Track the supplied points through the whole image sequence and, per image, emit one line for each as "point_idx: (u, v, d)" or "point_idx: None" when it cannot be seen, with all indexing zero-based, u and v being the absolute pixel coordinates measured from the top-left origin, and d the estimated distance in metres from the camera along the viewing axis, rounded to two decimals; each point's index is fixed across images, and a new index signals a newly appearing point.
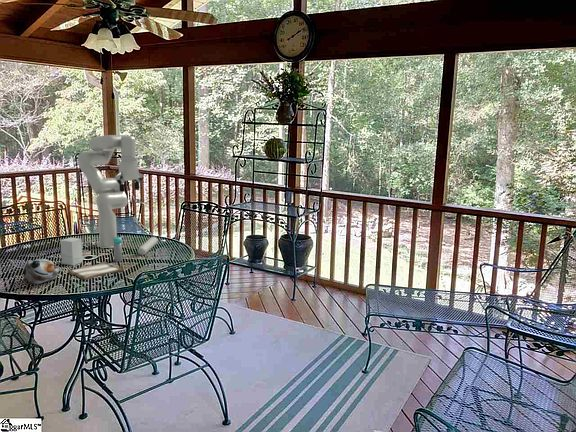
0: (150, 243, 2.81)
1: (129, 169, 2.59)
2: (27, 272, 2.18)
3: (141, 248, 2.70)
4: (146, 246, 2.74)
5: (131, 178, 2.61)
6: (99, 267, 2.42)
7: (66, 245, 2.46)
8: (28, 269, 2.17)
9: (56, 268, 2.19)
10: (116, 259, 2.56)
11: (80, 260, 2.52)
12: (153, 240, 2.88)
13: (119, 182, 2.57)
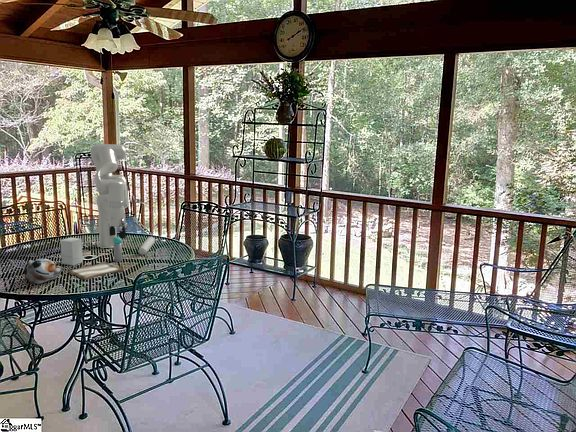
0: (149, 243, 2.82)
1: None
2: (28, 272, 2.18)
3: (142, 248, 2.70)
4: (146, 246, 2.74)
5: None
6: (99, 267, 2.42)
7: (66, 245, 2.46)
8: (29, 269, 2.17)
9: (57, 268, 2.20)
10: (116, 259, 2.56)
11: (80, 260, 2.52)
12: (151, 240, 2.88)
13: None
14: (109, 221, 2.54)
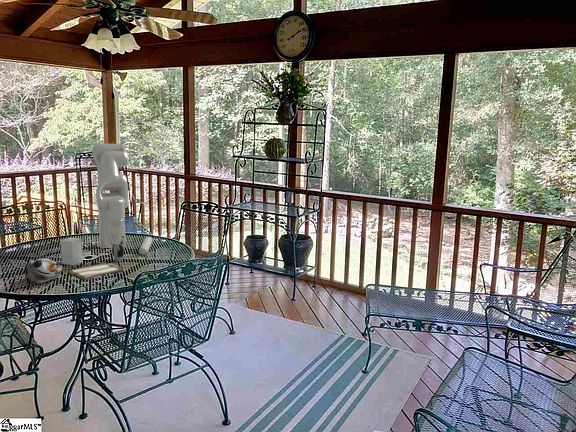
0: (148, 243, 2.82)
1: None
2: (29, 272, 2.18)
3: (143, 248, 2.70)
4: (146, 246, 2.75)
5: None
6: (99, 267, 2.42)
7: (66, 245, 2.46)
8: (30, 269, 2.18)
9: (58, 267, 2.20)
10: (116, 259, 2.56)
11: (80, 260, 2.52)
12: (149, 240, 2.88)
13: (123, 247, 2.55)
14: (109, 238, 2.56)
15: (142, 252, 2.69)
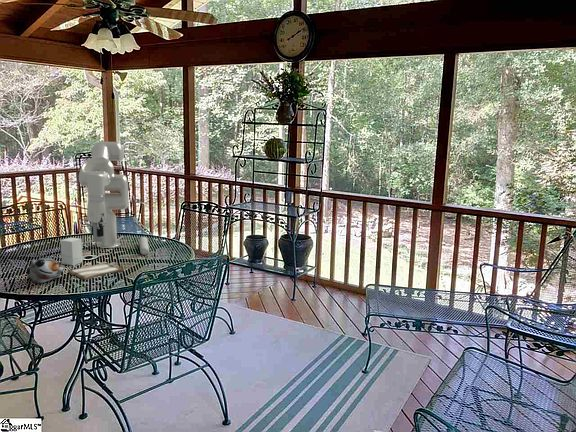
0: (147, 243, 2.82)
1: None
2: (31, 271, 2.19)
3: (145, 248, 2.70)
4: (147, 246, 2.75)
5: None
6: (99, 267, 2.42)
7: (66, 245, 2.46)
8: (32, 268, 2.19)
9: (60, 267, 2.21)
10: (96, 239, 2.36)
11: (80, 260, 2.52)
12: (146, 240, 2.88)
13: (103, 226, 2.35)
14: (88, 216, 2.36)
15: (144, 252, 2.70)
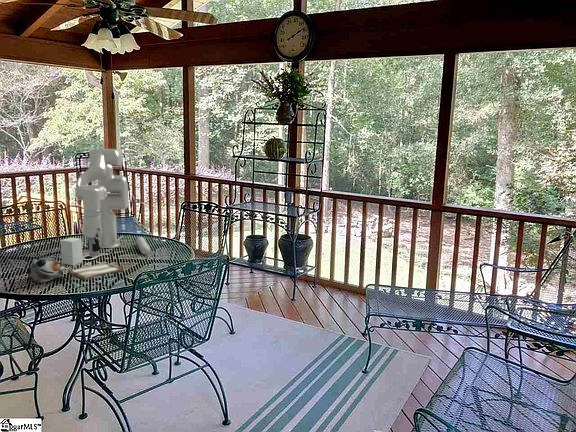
0: (145, 243, 2.82)
1: None
2: (32, 271, 2.20)
3: (146, 248, 2.70)
4: (147, 246, 2.75)
5: None
6: (99, 267, 2.42)
7: (66, 245, 2.46)
8: (33, 268, 2.19)
9: (61, 266, 2.22)
10: (91, 254, 2.34)
11: (80, 260, 2.52)
12: (144, 240, 2.88)
13: (99, 241, 2.32)
14: (84, 231, 2.33)
15: (145, 252, 2.70)
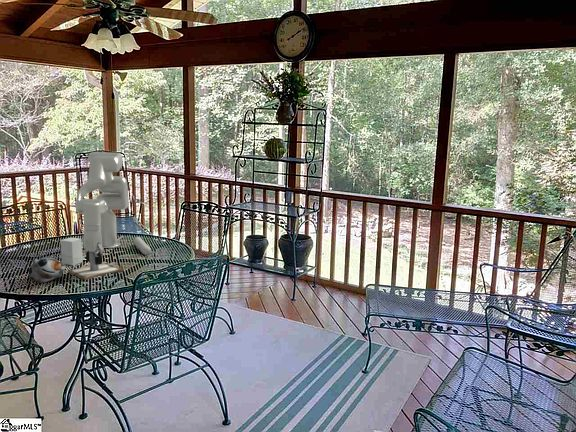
0: (144, 243, 2.82)
1: None
2: (33, 271, 2.20)
3: (147, 248, 2.71)
4: (147, 246, 2.75)
5: None
6: (99, 267, 2.42)
7: (66, 245, 2.46)
8: (34, 268, 2.19)
9: (63, 266, 2.23)
10: (92, 268, 2.35)
11: (80, 260, 2.52)
12: (142, 240, 2.87)
13: None
14: (85, 245, 2.35)
15: (146, 252, 2.70)
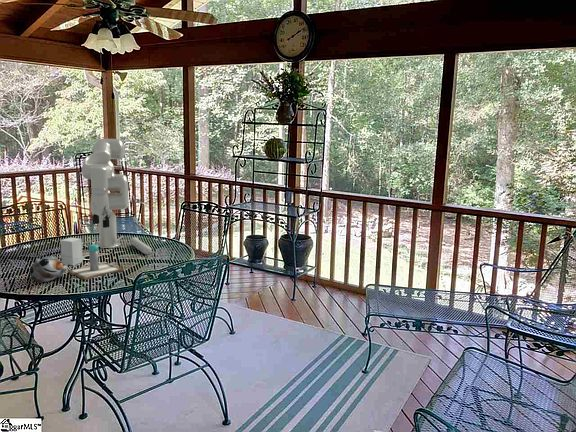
0: (143, 243, 2.81)
1: None
2: (35, 270, 2.21)
3: (148, 248, 2.71)
4: None
5: None
6: (99, 267, 2.42)
7: (66, 245, 2.46)
8: (36, 267, 2.20)
9: (64, 265, 2.24)
10: (92, 268, 2.35)
11: (80, 260, 2.52)
12: None
13: (109, 217, 2.37)
14: (92, 209, 2.39)
15: (147, 252, 2.71)
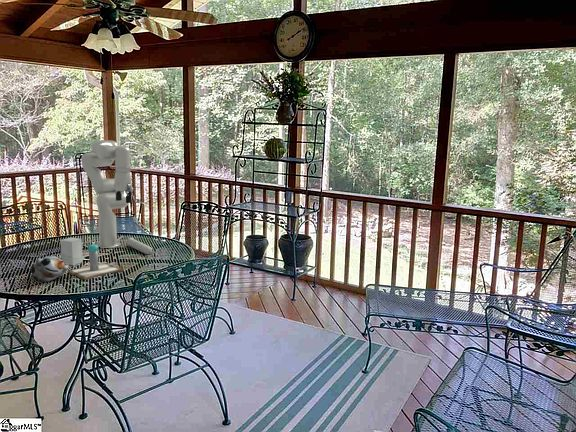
0: None
1: None
2: (36, 270, 2.21)
3: (149, 247, 2.72)
4: None
5: None
6: (99, 267, 2.42)
7: (66, 245, 2.46)
8: (38, 267, 2.21)
9: (66, 265, 2.25)
10: (92, 268, 2.35)
11: (80, 260, 2.52)
12: (136, 240, 2.86)
13: None
14: (115, 186, 2.61)
15: (149, 251, 2.71)
